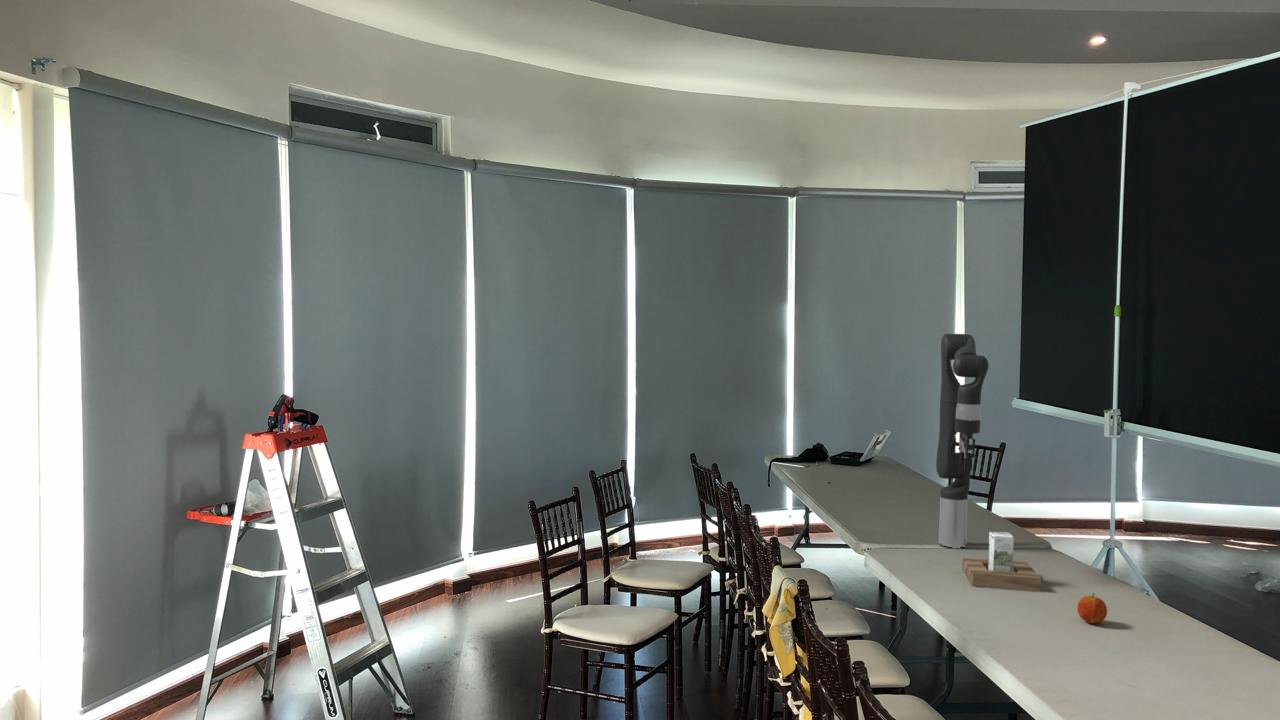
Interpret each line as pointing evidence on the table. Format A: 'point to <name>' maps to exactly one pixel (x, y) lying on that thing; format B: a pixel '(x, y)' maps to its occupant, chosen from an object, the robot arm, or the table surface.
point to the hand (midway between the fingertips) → (965, 467)
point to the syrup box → (1000, 551)
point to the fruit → (1092, 609)
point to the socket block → (1001, 575)
